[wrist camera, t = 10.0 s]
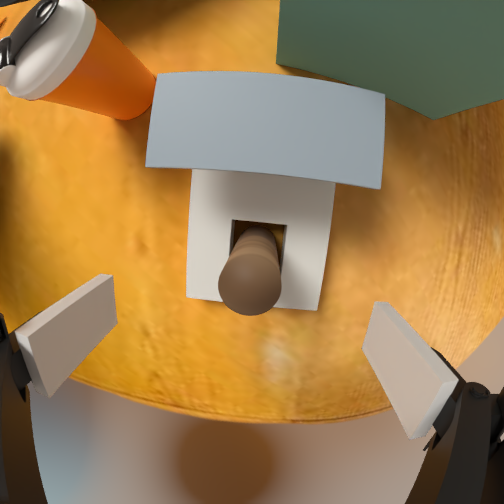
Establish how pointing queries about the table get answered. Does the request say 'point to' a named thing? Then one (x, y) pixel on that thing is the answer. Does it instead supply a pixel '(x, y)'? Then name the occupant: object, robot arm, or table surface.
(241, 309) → the peg
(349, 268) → the table surface
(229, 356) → the table surface
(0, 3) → the bowl
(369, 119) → the socket station
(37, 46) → the shaker bottle
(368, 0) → the box
